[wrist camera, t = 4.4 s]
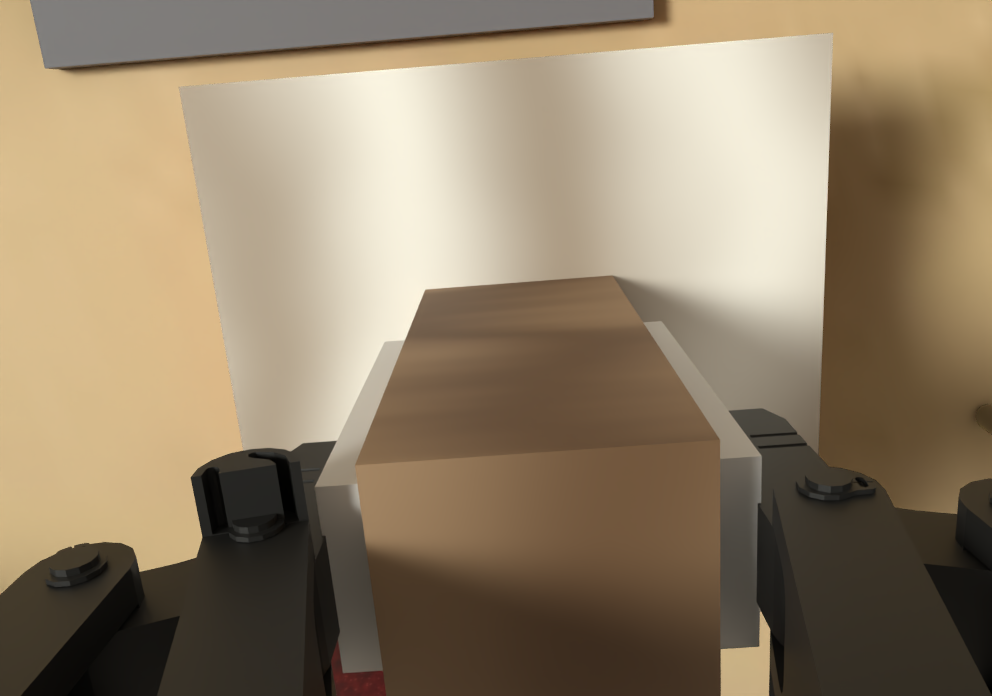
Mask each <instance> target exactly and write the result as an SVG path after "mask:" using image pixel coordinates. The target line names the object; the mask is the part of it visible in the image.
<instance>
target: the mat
mask: <svg viewBox="0 0 992 696" xmlns="http://www.w3.org/2000/svg"><path fill="white" fill-rule="evenodd" d="M30 3H31V7H32V12H33V16H34V21H35V25H36V30H37V34H38V39H39V44H40V48H41V53H42V57H43V62H44V66H45V68H49V69H64V68H76V67H88V66H100V65H112V64H124V63H136V62H148V61H160V60H172V59H184V58H196V57H208V56H220V55H232V54H244V53H256V52H268V51H280V50H292V49H304V48H316V47H328V46H340V45H352V44H364V43H376V42H388V41H400V40H411V39H423V38H435V37H447V36H459V35H471V34H483V33H495V32H507V31H519V30H531V29H543V28H555V27H567V26H579V25H591V24H603V23H615V22H627V21H639V20H650V19H652V18H654V8H653V0H30Z"/></svg>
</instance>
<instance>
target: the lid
mask: <svg viewBox="0 0 992 696" xmlns="http://www.w3.org/2000/svg"><path fill="white" fill-rule="evenodd" d="M832 50H833V33H826V34H814V35H802V36H790V37H778V38H765V39H753V40H741V41H729V42H717V43H705V44H693V45H681V46H668V47H656V48H644V49H632V50H620V51H608V52H596V53H584V54H571V55H559V56H547V57H535V58H523V59H511V60H499V61H487V62H475V63H462V64H450V65H438V66H426V67H414V68H402V69H390V70H378V71H365V72H353V73H341V74H329V75H317V76H305V77H293V78H281V79H268V80H256V81H244V82H232V83H220V84H208V85H196V86H184V87H179V91H180V96H181V102H182V108H183V113H184V119H185V124H186V130H187V136H188V141H189V147H190V153H191V158H192V164H193V170H194V175H195V181H196V187H197V192H198V198H199V203H200V209H201V215H202V220H203V226H204V232H205V237H206V243H207V249H208V254H209V260H210V265H211V271H212V277H213V282H214V288H215V294H216V299H217V305H218V311H219V316H220V322H221V328H222V333H223V339H224V344H225V350H226V356H227V361H228V367H229V373H230V378H231V384H232V390H233V395H234V401H235V406H236V412H237V418H238V423H239V429H240V435H241V440H242V446H243V451H244V450H249V449H260V448H276V449H286V450H288V451H290V452H291V451H292V450H294V449H295V448H297V447H298V446H300V445H301V444H302V443H312V442H326V441H337V440H338V438H339V435H340V433H341V431H342V429H343V427H344V425H345V423H346V421H347V419H348V417H349V415H350V413H351V411H352V408H353V406H354V404H355V402H356V400H357V398H358V396H359V394H360V392H361V390H362V388H363V386H364V384H365V381H366V379H367V377H368V375H369V373H370V371H371V369H372V367H373V365H374V363H375V361H376V359H377V357H378V354H379V352H380V350H381V348H382V346H383V344H384V342H386V341H400V340H405V341H404V344H403V346H402V349H401V351H400V354H399V356H398V359H397V361H396V364H395V366H394V369H393V371H392V374H391V376H390V379H389V381H388V384H387V386H386V389H385V391H384V394H383V396H382V399H381V401H380V404H379V406H378V409H377V411H376V414H375V416H374V419H373V421H372V424H371V426H370V429H369V431H368V434H367V436H366V439H365V441H364V444H363V446H362V449H361V451H360V454H359V456H358V459H357V461H356V464H355V470H356V477H357V485H358V492H359V499H360V507H361V514H362V521H363V529H364V536H365V543H366V550H367V558H368V565H369V572H370V580H371V587H372V594H373V602H374V609H375V616H376V623H377V631H378V638H379V645H380V653H381V660H382V667H383V675H384V682H385V689H386V696H721V670H720V439H719V437H718V436H717V434H716V433H715V431H714V430H713V428H712V427H711V425H710V424H709V422H708V421H707V419H706V418H705V416H704V414H703V413H702V411H701V410H700V408H699V407H698V405H697V404H696V402H695V401H694V399H693V398H692V396H691V395H690V393H689V392H688V390H687V389H686V387H685V386H684V384H683V382H682V381H681V379H680V378H679V376H678V375H677V373H676V372H675V370H674V369H673V367H672V366H671V364H670V363H669V361H668V360H667V358H666V357H665V355H664V353H663V352H662V350H661V349H660V347H659V346H658V344H657V343H656V341H655V340H654V338H653V337H652V335H651V334H650V332H649V331H648V329H647V328H646V326H645V325H644V323H643V322H656V321H662V322H663V324H664V325H665V326H666V328H667V329H668V330H669V332H670V333H671V334H672V336H673V337H674V339H675V340H676V341H677V343H678V344H679V345H680V347H681V348H682V349H683V351H684V352H685V353H686V355H687V356H688V357H689V359H690V360H691V361H692V363H693V364H694V365H695V367H696V368H697V369H698V371H699V372H700V374H701V375H702V376H703V378H704V379H705V380H706V382H707V383H708V384H709V386H710V387H711V388H712V390H713V391H714V392H715V394H716V395H717V396H718V398H719V399H720V400H721V402H722V403H723V404H724V406H725V407H726V409H727V410H728V411H730V410H744V409H758V408H763V409H765V410H767V411H769V412H772V413H774V414H776V415H778V416H780V417H783V418H785V419H786V420H787V421H788V422H789V423H790V425H791V426H792V427H793V428H794V429H795V430H796V431H797V434H798V435H800V436H801V437H802V438H803V439H804V440H805V441H806V442H807V446H810V447H811V448H812V449H813V450H814V451H815V452H816V453H817V454H819V425H820V396H821V367H822V338H823V309H824V281H825V252H826V223H827V194H828V165H829V136H830V107H831V79H832ZM760 612H761V610H760Z"/></svg>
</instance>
